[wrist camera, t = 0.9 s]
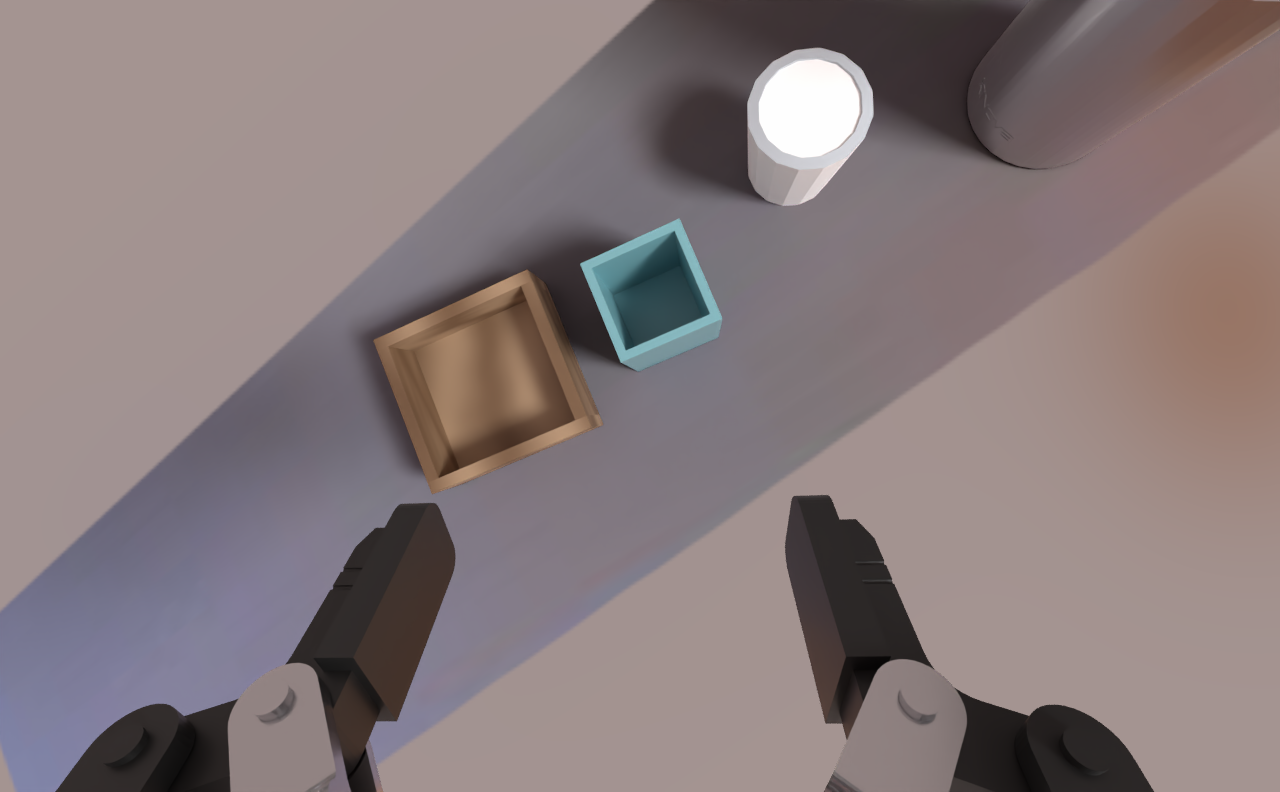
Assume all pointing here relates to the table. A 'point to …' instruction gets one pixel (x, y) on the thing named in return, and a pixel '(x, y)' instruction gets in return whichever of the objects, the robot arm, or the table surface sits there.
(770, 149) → the white cylinder
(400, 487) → the table surface
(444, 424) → the walnut crate
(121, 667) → the table surface
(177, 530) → the table surface
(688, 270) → the teal crate
